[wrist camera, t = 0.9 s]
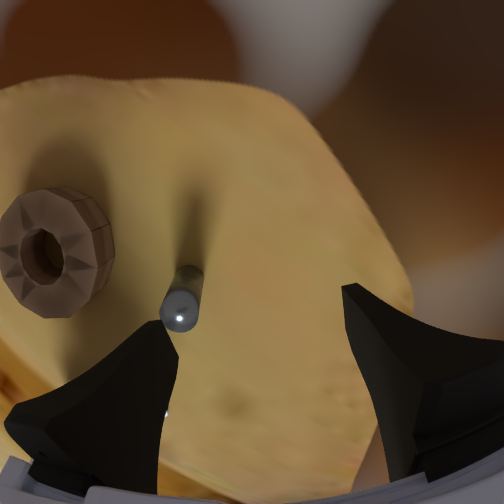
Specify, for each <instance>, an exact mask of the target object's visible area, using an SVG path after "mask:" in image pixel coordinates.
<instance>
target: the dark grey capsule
mask: <svg viewBox="0 0 504 504" xmlns="http://www.w3.org/2000/svg"><path fill="white" fill-rule="evenodd" d="M203 282H204V277H203V274H202V272H201V271H200V270H199V269H198V268H197V267H195V266H192V265H185V266H182V267H181V268H179V269H178V270H177V272H176V274H175V276H174V278H173V281H172V283H171V285H170V287H169V289H168V292H167V294H166V296H165V298H164V301H163V303H162V305H161V307H160V312H159V315H160V319H161V320H162V322H163V324H164V326H165V327H167V328H168V329H169V330H171V331H174V332H187V331H189V330H191V329H192V328H193V327H194V326H195V325H196V323H197V321H198V315H199V308H200V301H201V295H202V288H203Z"/></svg>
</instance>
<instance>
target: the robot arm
mask: <svg viewBox="0 0 504 504" xmlns="http://www.w3.org/2000/svg"><path fill="white" fill-rule="evenodd" d="M341 288H342V297H343V307H344V318H345V329H346V332H347V336H348V340H349V343H350V346H351V350H352V352H353V355H354V357H355V359H356V362H357V364H358V367H359V369H360V371H361V374H362V376H363V378H364V381H365V383H366V386H367V388H368V390H369V393H370V396H371V399H372V402H373V405H374V409H375V413H376V416H377V420H378V424H379V428H380V433H381V437H382V442H383V446H384V451H385V456H386V462H387V467H388V473H389V479H390V483H387V484H384V485H380V486H377V487H373V488H369V489H366V490H361V491H357V492H352V493H348V494H343V495H338V496H333V497H328V498H322V499H315V500H309V501H301V502H293V503H284V504H504V341H501V340H491V339H481V338H474V337H469V336H465V335H460V334H455V333H452V332H448V331H445V330H442V329H439V328H436V327H433V326H430V325H428V324H425V323H423V322H421V321H419V320H416V319H414V318H412V317H410V316H408V315H406V314H404V313H402V312H401V311H399V310H397V309H395V308H393V307H392V306H390V305H389V304H387V303H385V302H384V301H382V300H381V299H379V298H378V297H376V296H375V295H373V294H372V293H371V292H369V291H368V290H366V289H365V288H364V287H362V286H361V285H359V284H358V283H353V284H349V285H344V286H341ZM178 360H179V356H178V354H177V352H176V350H175V348H174V346H173V343H172V341H171V339H170V337H169V335H168V333H167V331H166V328H165V326H164V324H163V322H162V320H154V321H148V322H147V323H145V324H144V325H143V326H141V327H140V328H139V329H138V330H136V331H135V332H134V333H133V334H132V335H131V336H130V337H128V338H127V339H126V340H125V341H124V342H123V343H122V344H120V345H119V346H118V347H117V348H116V349H115V350H114V351H112V352H111V353H110V354H109V355H107V356H106V357H105V358H104V359H103V360H101V361H100V362H99V363H98V364H96V365H95V366H94V367H92V368H91V369H89V370H88V371H86V372H85V373H83V374H82V375H80V376H79V377H77V378H75V379H74V380H72V381H70V382H68V383H67V384H65V385H63V386H61V387H59V388H57V389H55V390H53V391H51V392H49V393H46V394H44V395H42V396H39V397H36V398H33V399H30V400H27V401H24V402H21V403H17V404H16V405H15V406H14V407H13V409H12V410H11V412H10V413H9V415H8V416H7V418H6V419H5V421H4V426H5V429H6V431H7V432H8V434H9V435H10V436H11V438H12V439H13V440H14V441H15V442H16V443H17V444H18V445H19V446H20V447H21V448H22V449H23V450H24V451H25V452H26V453H27V454H28V455H29V456H30V457H31V458H32V459H31V461H30V463H28V462H26V461H24V460H21V459H19V458H16V457H14V456H9V458H8V460H7V462H6V464H5V466H4V468H3V470H2V472H1V474H0V504H228V503H223V502H219V501H214V500H205V499H196V498H184V497H172V496H162V495H157V472H158V457H159V447H160V439H161V432H162V427H163V422H164V418H165V417H167V416H168V411H167V408H168V404H169V401H170V397H171V394H172V391H173V387H174V384H175V380H176V375H177V369H178Z"/></svg>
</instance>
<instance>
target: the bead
mask: <svg viewBox="0 0 504 504" xmlns="http://www.w3.org/2000/svg"><path fill="white" fill-rule="evenodd" d="M109 223H110V222H109V221H108V220H107V218H106V217H105V215H104V214H103V213H102V211H101V210H100V208H99V207H98V205H97V204H96V203H95V201H94V200H93V198H92V197H89V196H87V195H85V194H83V193H80V192H78V191H76V190H74V189H72V188H69V187H58V188H48V189H41V190H37V191H34V192H30V193H26V194H22V195H19V196H18V197H17V198H16V199H15V200H14V202H13V203H12V204H11V205H10V207H9V208H8V209H7V211H6V212H5V213H4V215H3V216H2V218H1V221H0V269H1V273H2V277H3V278H4V279H3V280H4V281H5V283H6V284H7V286H8V287H9V289H10V290H11V292H12V293H13V295H14V296H15V298H16V299H17V300H18V302H19V303H21V305H22V306H24V307H26V308H27V309H29V310H31V311H32V312H34V313H36V314H37V315H39V316H41V317H43V318H69V317H71V316H72V315H73V314H74V313H75V312H76V311H77V310H79V309H80V308H81V307H82V306H83V305H84V304H85V303H87V302H88V301H89V300H90V299H91V298H92V297H93V296H94V295H95V294H96V293H97V292H98V291H99V290H100V289H101V288H102V287H103V286H104V285H105V284H106V283H107V280H108V277H109V273H110V270H111V267H112V264H113V261H114V257H115V251H114V245H113V239H112V233H111V226H110V224H109ZM46 231H48V232H50V233H52V234H53V235H54V237H55V238H56V240H57V241H58V242H59V244H60V245H61V248H62V253H63V258H64V266H63V270H60V269H58V268H56V267H55V266H53V265H52V264H51V262H50V261H49V259H48V258H47V256H46V254H45V249H44V243H43V242H44V238H45V234H46Z"/></svg>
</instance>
